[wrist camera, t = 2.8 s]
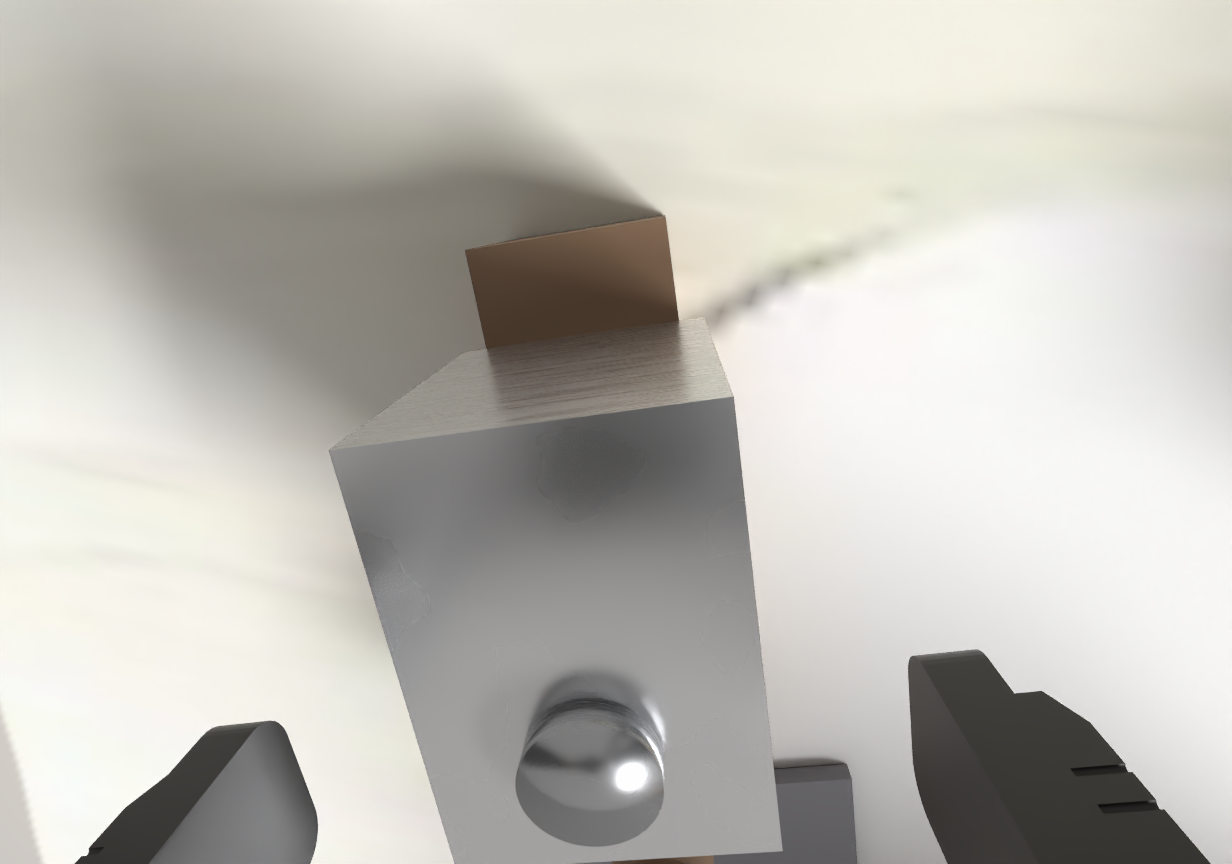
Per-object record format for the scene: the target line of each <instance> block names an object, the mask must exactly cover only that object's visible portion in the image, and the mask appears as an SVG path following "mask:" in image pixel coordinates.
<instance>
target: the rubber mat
mask: <svg viewBox="0 0 1232 864" xmlns="http://www.w3.org/2000/svg"><path fill="white" fill-rule="evenodd" d="M774 775H775V784H776V794H777V803H778V812H779V821H780V831H781V840H782V849H783V851H778V852H761V853H744V854H727V855H713V857H714V864H857V856H856V840H855V825H854V809H853V794H852V779H851V776H850V773H849V770H848V767H847V764H839V765H826V766H812V767H798V768H784V769H774ZM584 864H611V861H608V862H591V863H584Z"/></svg>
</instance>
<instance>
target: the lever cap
mask: <svg viewBox="0 0 1232 864" xmlns="http://www.w3.org/2000/svg"><path fill="white" fill-rule="evenodd" d="M329 453H330V456H331V459H332V463H333V466H334V469H335V472H336V476H337V479H338V482H339V486H340V489H341V492H342V495H343V499H344V502H345V505H346V509H347V512H348V515H349V518H350V522H351V525H352V528H353V531H354V535H355V538H356V541H357V545H358V548H359V551H360V554H361V558H362V561H363V564H364V568H365V571H366V574H367V577H368V581H369V584H370V587H371V591H372V594H373V597H374V600H375V604H376V607H377V610H378V614H379V617H380V620H381V623H382V627H383V630H384V633H385V637H386V640H387V643H388V646H389V650H390V653H391V656H392V659H393V663H394V666H395V669H396V673H397V676H398V679H399V682H400V686H401V689H402V692H403V696H404V699H405V702H406V705H407V709H408V712H409V715H410V719H411V722H412V725H413V728H414V732H415V735H416V738H417V742H418V745H419V748H420V751H421V755H422V758H423V761H424V764H425V768H426V771H427V774H428V778H429V781H430V784H431V787H432V791H433V794H434V797H435V801H436V804H437V807H438V810H439V814H440V817H441V820H442V824H443V827H444V830H445V833H446V837H447V840H448V843H449V847H450V850H451V853H452V856H453V860H454V863H455V864H574V863H591V862H608V861H625V860H642V859H659V858H676V857H693V856H710V855H727V854H744V853H761V852H778V851H783V849H782V840H781V831H780V821H779V812H778V803H777V794H776V784H775V775H774V766H773V757H772V747H771V738H770V729H769V719H768V710H767V701H766V692H765V682H764V673H763V664H762V655H761V645H760V636H759V627H758V618H757V608H756V599H755V590H754V581H753V571H752V562H751V553H750V544H749V534H748V525H747V516H746V507H745V497H744V488H743V479H742V470H741V460H740V451H739V442H738V432H737V423H736V414H735V405H734V396H733V394H732V391H731V388H730V386H729V383H728V380H727V378H726V375H725V372H724V370H723V367H722V364H721V362H720V359H719V356H718V354H717V351H716V348H715V346H714V343H713V340H712V338H711V335H710V332H709V330H708V327H707V324H706V322H705V319H704V317H700V318H693V319H686V320H679V321H673V322H666V323H659V324H652V325H645V326H639V327H632V328H625V329H618V330H611V331H604V332H598V333H591V334H584V335H577V336H570V337H564V338H557V339H550V340H543V341H536V342H529V343H523V344H516V345H509V346H502V347H495V348H489V349H482V350H475V351H468V352H463V353H462V354H460V355H459V356H458V357H456V358H455V359H453V360H452V361H451V362H449V363H448V364H447V365H445V366H444V367H442V368H441V369H440V370H438V371H437V372H436V373H434V374H433V375H431V376H430V377H429V378H427V379H426V380H425V381H423V382H422V383H420V384H419V385H418V386H416V387H415V388H414V389H412V390H411V391H410V392H408V393H407V394H405V395H404V396H403V397H401V398H400V399H399V400H397V401H396V402H394V403H393V404H392V405H390V406H389V407H388V408H386V409H385V410H383V411H382V412H381V413H379V414H378V415H377V416H375V417H374V418H372V419H371V420H370V421H368V422H367V423H366V424H364V425H363V426H362V427H360V428H359V429H357V430H356V431H355V432H353V433H352V434H351V435H349V436H348V437H346V438H345V439H344V440H342V441H341V442H340V443H338V444H337V445H335V446H334V447H333V448H331V449H330V450H329Z"/></svg>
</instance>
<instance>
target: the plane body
mask: <svg viewBox="0 0 1232 864" xmlns="http://www.w3.org/2000/svg"><path fill="white" fill-rule="evenodd" d="M465 252H466V257H467V261H468V266H469V270H470V275H471V280H472V284H473V289H474V293H475V298H476V302H477V307H478V312H479V316H480V321H481V325H482V330H483V334H484V339H485V344H486V348H487V349H489V348H495V347H502V346H509V345H516V344H523V343H529V342H536V341H543V340H550V339H557V338H564V337H570V336H577V335H584V334H591V333H598V332H604V331H611V330H618V329H625V328H632V327H639V326H645V325H652V324H659V323H666V322H673V321H679V318H678V311H677V303H676V295H675V287H674V280H673V272H672V264H671V256H670V249H669V241H668V233H667V225H666V218H665V215H662V216H656V217H650V218H644V219H638V220H632V221H626V222H620V223H613V224H607V225H601V226H595V227H589V228H583V229H577V230H571V231H565V232H559V233H553V234H546V235H540V236H534V237H528V238H522V239H516V240H510V241H505V242H500V243H496V244H491V245H487V246H482V247H478V248H473V249H468V250H465ZM611 864H714V857H713V855H710V856H693V857H676V858H659V859H642V860H625V861H611Z"/></svg>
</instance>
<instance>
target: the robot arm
mask: <svg viewBox="0 0 1232 864" xmlns="http://www.w3.org/2000/svg"><path fill="white" fill-rule="evenodd" d="M908 678H909V696H910V715H911V734H912V753H913V765H914V772H915V777H916V782H917V786H918V790H919V794H920V797H921V801H922V804H923V807H924V810H925V813H926V815H927V818H928V820H929V823H930V825H931V827H932V829H933V832H934V834H935V836H936V838H937V841H938V843H939V845H940V847H941V850H942V852H943V854H944V856H945V859H946V861H947V863H948V864H1210V863H1209V861H1208V860H1207V859H1206V858H1205V857H1204V856H1203V854H1202V853H1201V852H1200V851H1199V850H1198V848H1197V847H1196V846H1195V845H1194V844H1193V843H1192V841H1191V840H1190V839H1189V838H1188V837H1187V836H1186V834H1185V833H1184V832H1183V831H1182V830H1181V829H1180V827H1179V826H1178V825H1177V824H1176V823H1175V822H1174V820H1173V819H1172V818H1171V817H1170V816H1169V815H1168V813H1167V812H1166V811H1165V810H1160V809H1159V808H1158V806H1157V803H1156V799H1155V798H1154V797H1153V796H1152V795H1151V793H1150V792H1149V791H1148V790H1147V789H1146V788H1145V786H1144V785H1143V784H1142V783H1141V782H1140V781H1139V779H1138V778H1137V777H1136V776H1135V775H1134V774H1133V772H1128V771H1127V769H1126V767H1125V763H1124V762H1123V761H1122V759H1121V758H1120V757H1119V756H1118V755H1117V754H1116V752H1115V751H1114V750H1113V749H1112V748H1111V747H1110V745H1109V744H1108V743H1107V742H1106V741H1105V740H1104V738H1103V737H1102V736H1101V735H1100V734H1099V733H1098V731H1097V730H1096V729H1095V728H1094V727H1093V726H1092V724H1091V723H1090V722H1088V721H1087V720H1085V719H1084V718H1082V717H1081V716H1079V715H1078V714H1076V713H1075V712H1073V711H1071V710H1070V709H1068V708H1067V707H1065V706H1064V705H1062V704H1061V703H1059V702H1058V701H1056V700H1055V699H1053V698H1052V697H1050V696H1048V695H1047V694H1045V693H1044V692H1042V691H1037V692H1027V693H1016V694H1014V693H1013V691H1012V690H1011V689H1010V687H1009V686H1008V685H1007V683H1006V682H1005V681H1004V679H1003V678H1002V677H1001V675H1000V674H999V673H998V671H997V670H996V669H995V667H994V666H993V665H992V663H991V662H990V660H989V659H988V658H987V657H986V656H985V654H984V653H982V652H981V651H979V650H966V651H956V652H947V653H937V654H927V655H918V656H912V657H911V658H910V660H909V665H908ZM317 833H318V822H317V814H316V810H315V807H314V804H313V801H312V799H311V796H310V794H309V791H308V788H307V786H306V783H305V780H304V778H303V775H302V772H301V770H300V767H299V764H298V762H297V759H296V757H295V754H294V751H293V749H292V746H291V743H290V741H289V738H288V735H287V733H286V731H285V729H284V728H283V727H282V726H281V725H280V724H279V723H277V722H275V721H264V722H254V723H244V724H235V725H225V726H218V727H215V728H212V729H210V730H209V731H208V732H206V733H205V734H204V735H203V736H202V737H201V738H200V739H199V741H198V742H197V743H196V744H195V745H194V746H193V747H192V748H191V750H190V751H189V752H188V753H187V754H186V755H185V756H184V757H183V759H182V760H181V761H180V762H179V763H178V764H177V765H176V767H175V768H174V769H173V770H172V771H171V772H170V773H169V774H168V775H167V776H166V777H165V778H163V779H162V780H161V781H159V782H158V783H157V784H156V785H154V786H153V787H152V788H150V789H149V790H148V791H147V792H145V793H144V794H143V795H141V796H140V797H139V798H138V799H136V800H135V801H134V802H132V803H131V804H130V805H128V806H127V807H126V808H125V809H124V810H123V811H122V812H121V813H120V814H119V816H118V817H117V818H116V819H115V820H114V821H113V822H112V823H111V824H110V825H109V827H108V828H107V829H106V830H105V831H104V832H103V833H102V834H101V835H100V836H99V838H98V839H97V840H96V841H95V842H94V843H93V844H92V845H91V846H90V848H89V853H88V855H87V856H81V857H80V859H79V860H78V861H77V862H76V863H75V864H310V863H311V860H312V857H313V854H314V851H315V847H316V841H317Z"/></svg>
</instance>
